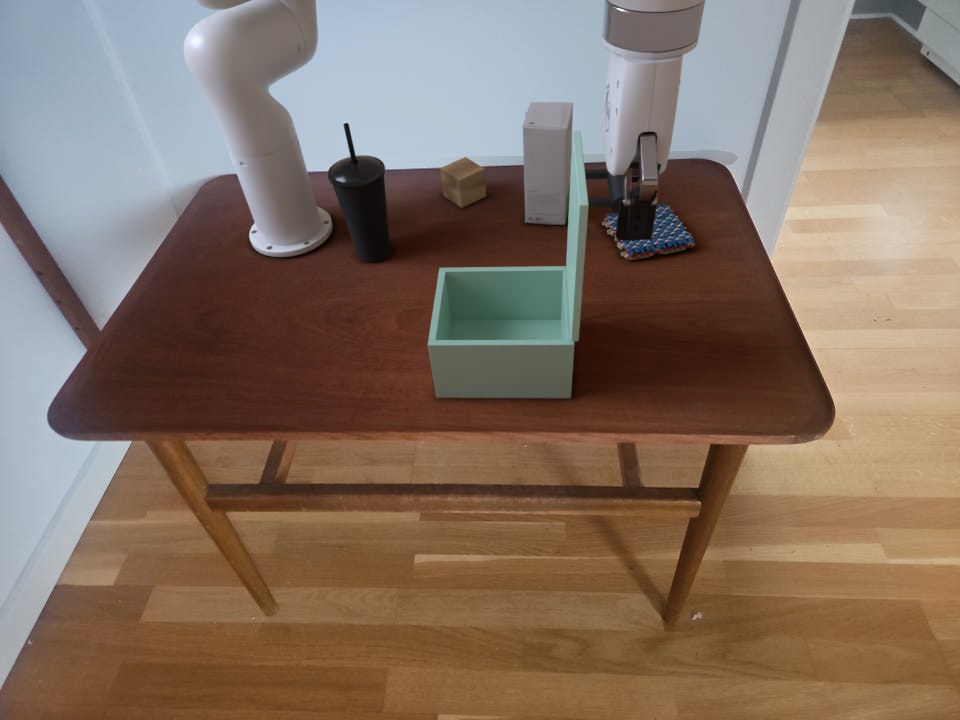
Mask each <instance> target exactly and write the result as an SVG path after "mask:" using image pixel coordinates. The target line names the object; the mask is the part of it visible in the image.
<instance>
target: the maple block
mask: <svg viewBox="0 0 960 720" xmlns="http://www.w3.org/2000/svg"><path fill="white" fill-rule="evenodd" d="M439 169H440V177H441V186H442V187H441V188H442V195H443V196H444V197H445V198H446V199H448V200H449V201H450V202H452V203H454V204H455V205H456V206H458V207H460V208H461V209H463V208H465V207H467V206H469V205H471V204H473V203H475V202H477V201H480V200H481V199H483V198H484V199H485V198H486V197H487V187H486V170H485V167H483V166H481V165H479V164H478V163H477V162H475V161H473V160H471V159H470V158H468V157H467V156H464V157H461V158H459V159H457V160H455V161H452V162H450V163H448V164H446V165H444V166H441V167H440V168H439Z"/></svg>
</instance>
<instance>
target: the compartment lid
mask: <svg viewBox="0 0 960 720" xmlns="http://www.w3.org/2000/svg"><path fill="white" fill-rule="evenodd" d="M583 149H584V148H583V140H582V132H581V130H572V154H571V175H570V196H569V206H568V215H567V219H568V220H567V240H566V260H565V266H566V267H567V283H568V300H569V316H570V333H571V341H574V342H579V340H580V329H581V314H582V301H583V287H584V274H585V273H584V272H585V259H586V247H587V236H588V235H587V233H588V221H589V209H610V210H612V212H613V213H614V214H617V213H618V211H619V202H620V200H623V194H624V175H616V176H612V175H611V174H610V173H609V171H608V170H607V168H606V169H605V168H603V169H586V168H585V159H584V158H585V157H584V151H583ZM587 180H606V184H607V190H608V197H589V196H588V195H589V194H588V188H587V187H588V186H587V185H588V184H587Z"/></svg>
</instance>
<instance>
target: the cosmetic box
mask: <svg viewBox="0 0 960 720" xmlns="http://www.w3.org/2000/svg"><path fill="white" fill-rule="evenodd" d="M573 115H574V102H568V101H566V102H565V101H557V102H556V101H555V102H554V101H553V102H552V101H551V102H545V101H544V102H543V101H531V102H530V103H529V106H528V107H527V111H525V113H524V116H525V117H524V120H523V124H522V144H523V145H522V154H523V155H522V156H523V157H522V158H523V187H524V188H523V190H524V191H523V192H524V223H526V224H535V225H553V226H565V225H566V222H567V218H568V213H569V196H570V175H571V154H572V133H573V118H574V117H573Z"/></svg>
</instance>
